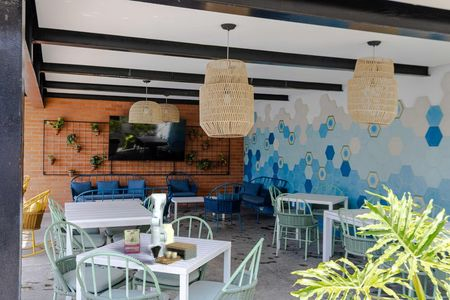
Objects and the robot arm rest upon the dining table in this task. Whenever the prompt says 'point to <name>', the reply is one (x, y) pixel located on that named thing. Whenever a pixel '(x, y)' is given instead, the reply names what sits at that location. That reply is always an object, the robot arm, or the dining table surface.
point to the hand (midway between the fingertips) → (155, 258)
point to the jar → (169, 233)
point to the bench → (187, 253)
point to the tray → (163, 260)
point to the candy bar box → (132, 241)
